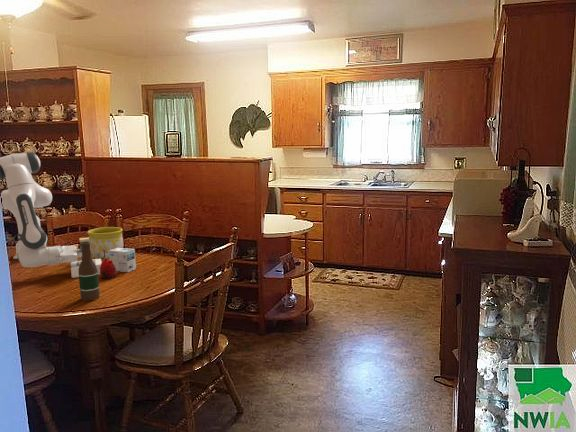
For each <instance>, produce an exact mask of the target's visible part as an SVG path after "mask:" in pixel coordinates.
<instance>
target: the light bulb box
mask: <svg viewBox="0 0 576 432" xmlns="http://www.w3.org/2000/svg"><path fill="white" fill-rule="evenodd" d="M110 260H112V261H113V264H114V265H115V268H116V272H119V271H120V272H121V273H130V272H132V270H133V271H135V270H136V269H137V263H136V262H137V261H136V249H135V248H127V247H126V248H124V247H123V248H116V249H112V250H110Z"/></svg>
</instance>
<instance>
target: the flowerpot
mask: <svg viewBox="0 0 576 432" xmlns="http://www.w3.org/2000/svg"><path fill="white" fill-rule="evenodd" d="M122 232H123V228H122V227H116V226H106V227H105V226H104V227H96V228H92V229H89V230H87V234H88V237H89V242H90V250H91V256H93V259H101V262H103V260H104V259H105V257H106V259H107V260H110V250H112V249H116V248H124V238H123V233H122ZM88 237H87V238H88ZM103 249H104V250H105V251H107V252H108V253H106V252H105V255H106V256H105V257H104V252H103V251H104V250H103Z"/></svg>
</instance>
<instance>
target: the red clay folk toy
mask: <svg viewBox="0 0 576 432" xmlns="http://www.w3.org/2000/svg"><path fill="white" fill-rule="evenodd" d="M103 250H104V249H103ZM103 252H104V257H105V256H106V255H105V252H106V253H108V252H107V251H105V250H104V251H103ZM99 276H100V277H101V278H102V279H105V280H106V279H107V280H108V279H113V278H116V277H117V271H116V268H115V265H114V264H113V261H112V260H107V259H106V257H105V259H104V260H103V262H102V263H101V267H100V274H99Z"/></svg>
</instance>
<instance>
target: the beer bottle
mask: <svg viewBox="0 0 576 432" xmlns="http://www.w3.org/2000/svg"><path fill="white" fill-rule="evenodd" d="M81 246H82V260H81V261H82V262H81V264H80V266H79V269H78V270H79V277H78V281H79V283H78V284H79V294H80V299H81V301H82V300H84V301H83V302H91V301H90V300H93V301H96V300H98V299H100V282H99V275H98V271H97V267H96V265H95V263H94V262H93V261H92V254H91V250H90V242H83V243H81ZM97 298H98V299H97ZM95 299H96V300H95Z"/></svg>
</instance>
